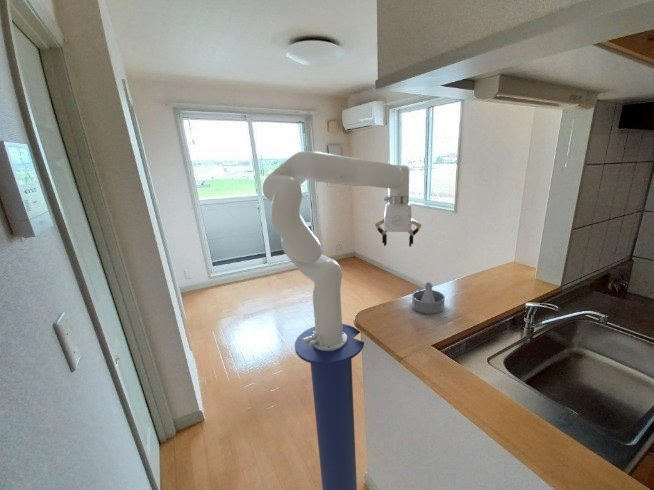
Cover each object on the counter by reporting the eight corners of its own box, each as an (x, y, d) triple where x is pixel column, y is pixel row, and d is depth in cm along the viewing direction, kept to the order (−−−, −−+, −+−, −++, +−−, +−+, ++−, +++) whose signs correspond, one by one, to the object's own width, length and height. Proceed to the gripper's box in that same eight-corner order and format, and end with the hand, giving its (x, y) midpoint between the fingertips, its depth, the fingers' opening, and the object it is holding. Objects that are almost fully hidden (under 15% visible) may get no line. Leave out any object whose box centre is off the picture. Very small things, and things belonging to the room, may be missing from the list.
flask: (416, 306, 131) (416, 284, 128) (423, 300, 137) (424, 279, 134) (432, 311, 128) (433, 288, 124) (439, 304, 133) (440, 282, 130)
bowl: (427, 317, 124) (428, 306, 122) (405, 305, 134) (405, 294, 132) (450, 308, 131) (451, 297, 129) (427, 297, 141) (428, 287, 140)
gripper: (373, 201, 112) (373, 247, 118) (422, 201, 109) (420, 248, 115) (376, 198, 119) (377, 242, 125) (422, 199, 116) (420, 243, 122)
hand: (397, 245), depth 120 cm, fingers open, 9 cm apart
